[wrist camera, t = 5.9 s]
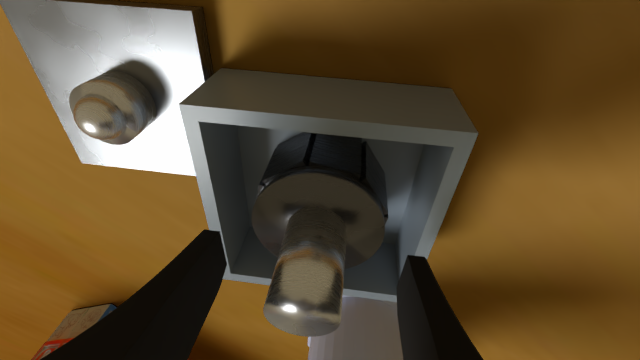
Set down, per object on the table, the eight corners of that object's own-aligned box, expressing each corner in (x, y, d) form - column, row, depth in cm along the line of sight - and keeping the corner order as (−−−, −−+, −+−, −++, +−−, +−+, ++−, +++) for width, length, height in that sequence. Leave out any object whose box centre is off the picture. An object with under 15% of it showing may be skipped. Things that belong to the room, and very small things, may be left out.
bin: (401, 245, 19) (408, 303, 16) (244, 226, 20) (221, 278, 17) (451, 88, 13) (478, 133, 10) (221, 68, 14) (178, 104, 11)
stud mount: (228, 168, 17) (201, 212, 14) (94, 153, 18) (42, 192, 15) (202, 7, 12) (154, 25, 10) (18, -7, 13) (-79, 6, 10)
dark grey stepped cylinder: (398, 147, 15) (422, 290, 9) (361, 228, 18) (359, 369, 12) (280, 116, 14) (218, 240, 8) (265, 204, 18) (214, 336, 12)
